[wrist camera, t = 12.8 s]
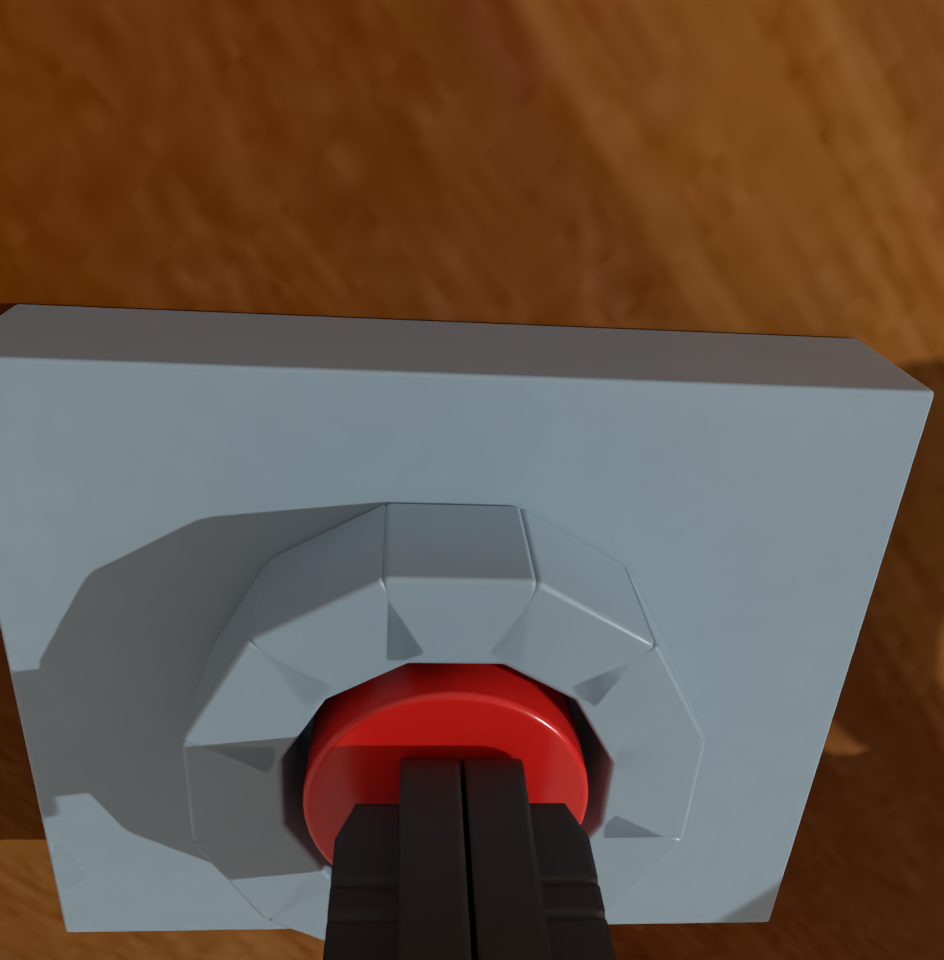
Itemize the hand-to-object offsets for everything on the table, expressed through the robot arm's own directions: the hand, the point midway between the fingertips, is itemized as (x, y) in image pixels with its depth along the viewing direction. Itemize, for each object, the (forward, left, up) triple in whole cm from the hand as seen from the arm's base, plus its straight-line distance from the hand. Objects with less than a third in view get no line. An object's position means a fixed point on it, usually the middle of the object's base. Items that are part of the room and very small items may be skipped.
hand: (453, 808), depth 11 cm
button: (0, 0, -2) cm, 2 cm away
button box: (0, 0, -4) cm, 4 cm away
